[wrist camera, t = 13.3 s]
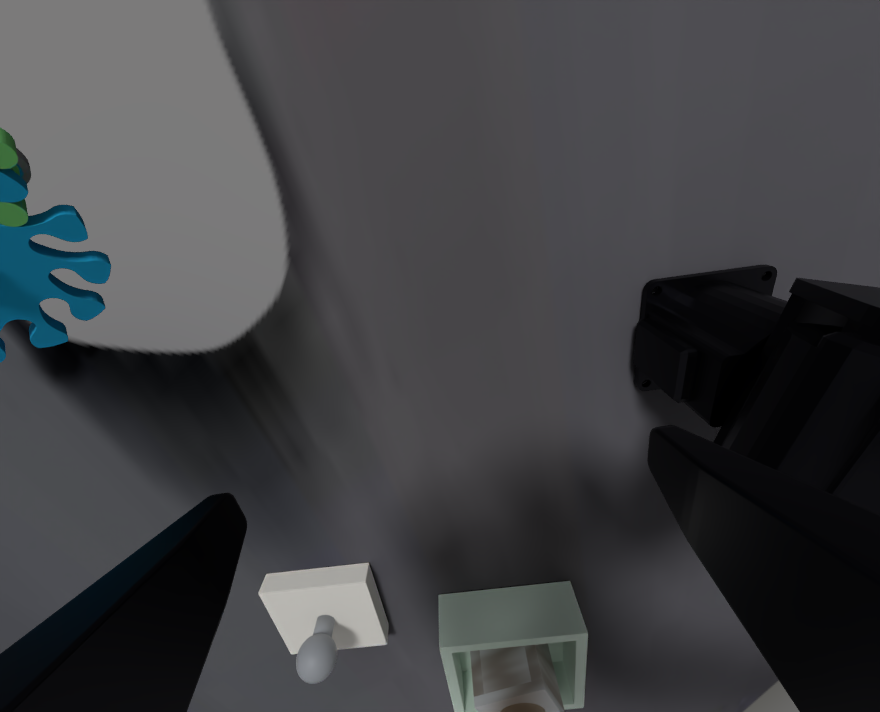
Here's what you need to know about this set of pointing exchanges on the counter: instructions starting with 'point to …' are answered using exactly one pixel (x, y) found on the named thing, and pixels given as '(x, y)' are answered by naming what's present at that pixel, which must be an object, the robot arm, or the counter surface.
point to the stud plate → (325, 614)
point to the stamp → (515, 680)
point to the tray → (513, 634)
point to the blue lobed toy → (40, 257)
